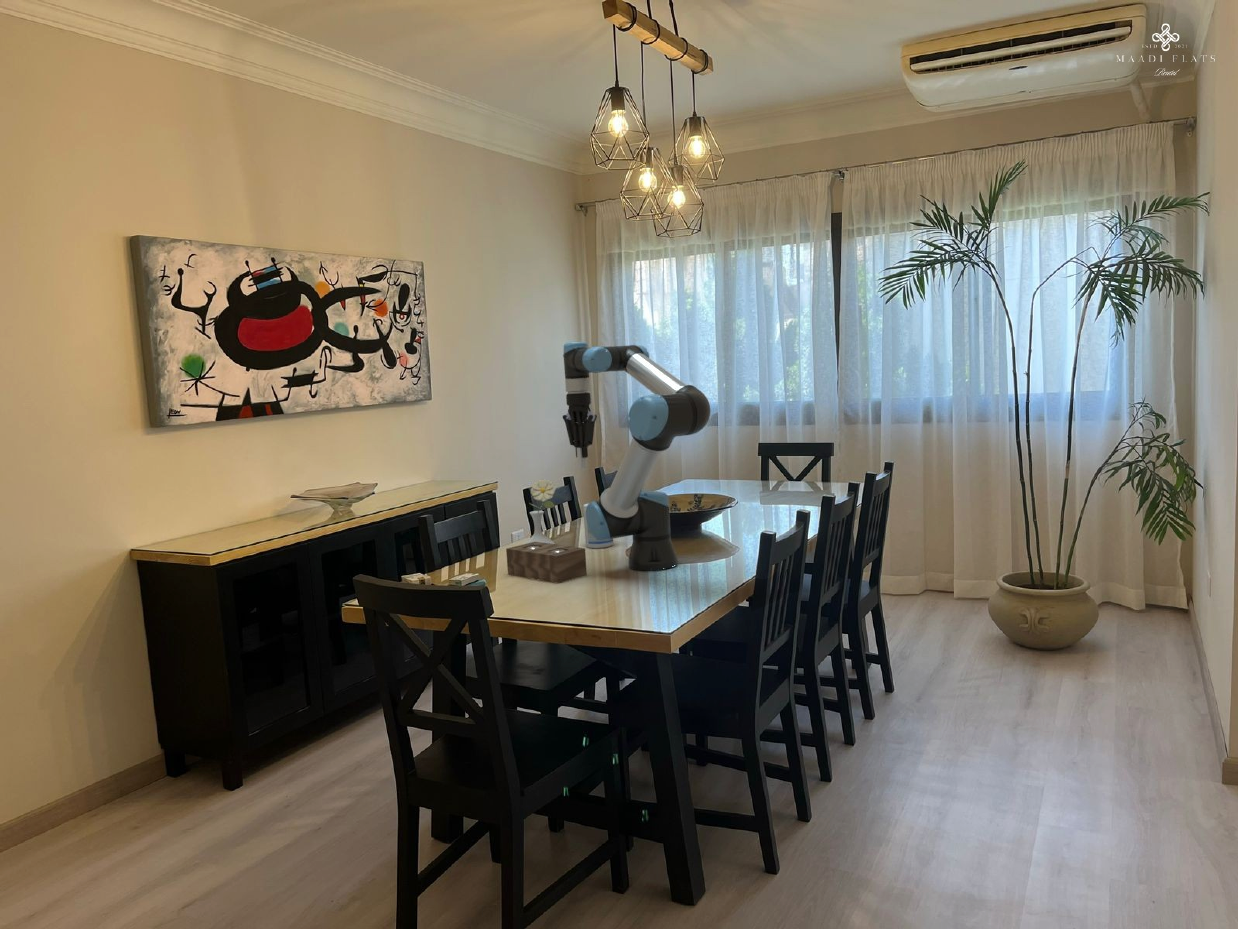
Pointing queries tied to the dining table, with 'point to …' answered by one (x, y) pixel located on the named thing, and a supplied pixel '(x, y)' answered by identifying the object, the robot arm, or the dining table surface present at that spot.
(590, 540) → the supplement tub
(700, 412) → the robot arm
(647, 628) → the dining table surface
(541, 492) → the flower in vase
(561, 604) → the dining table surface
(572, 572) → the block
